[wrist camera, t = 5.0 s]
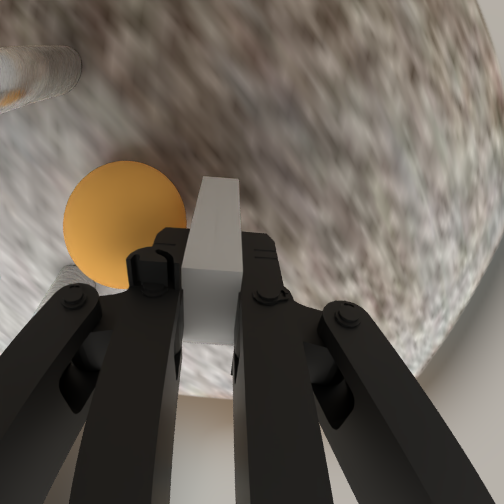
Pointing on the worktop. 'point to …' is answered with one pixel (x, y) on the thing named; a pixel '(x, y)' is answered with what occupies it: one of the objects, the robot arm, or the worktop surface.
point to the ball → (118, 218)
